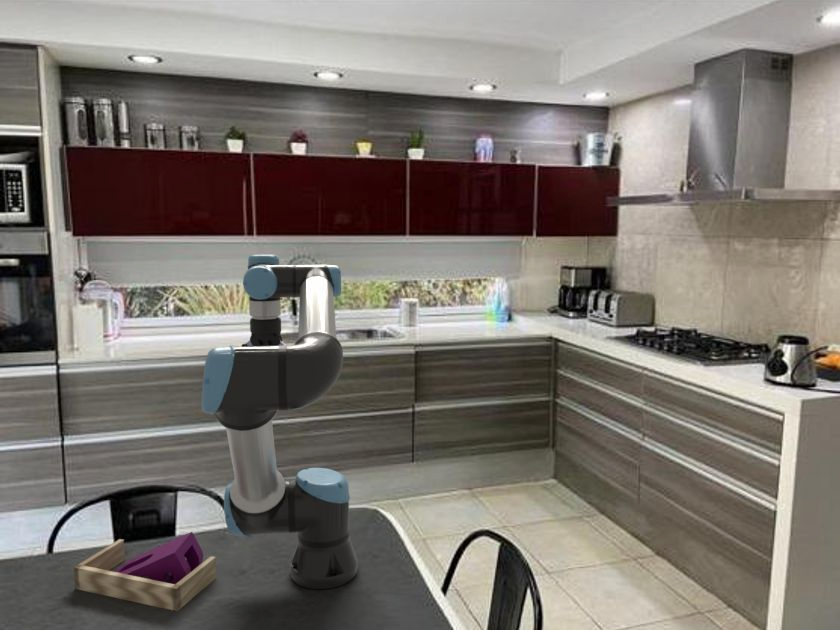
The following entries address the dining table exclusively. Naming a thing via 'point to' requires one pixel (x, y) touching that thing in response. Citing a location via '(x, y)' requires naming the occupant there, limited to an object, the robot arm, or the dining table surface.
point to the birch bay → (139, 580)
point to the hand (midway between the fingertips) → (268, 409)
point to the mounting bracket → (167, 560)
